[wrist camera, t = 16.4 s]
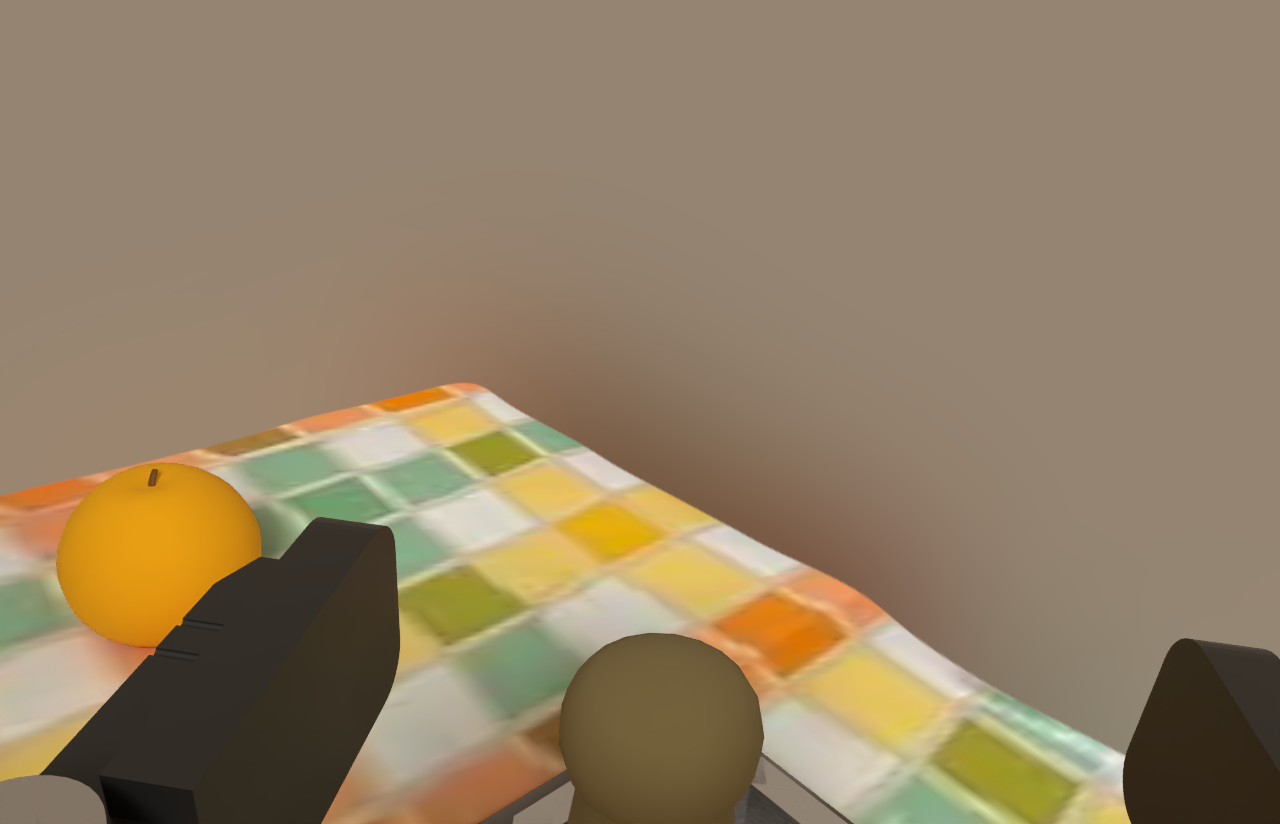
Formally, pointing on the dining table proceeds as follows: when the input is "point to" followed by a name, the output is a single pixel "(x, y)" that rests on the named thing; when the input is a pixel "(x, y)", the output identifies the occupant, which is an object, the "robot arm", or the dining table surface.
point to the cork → (659, 733)
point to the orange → (152, 549)
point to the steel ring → (764, 817)
